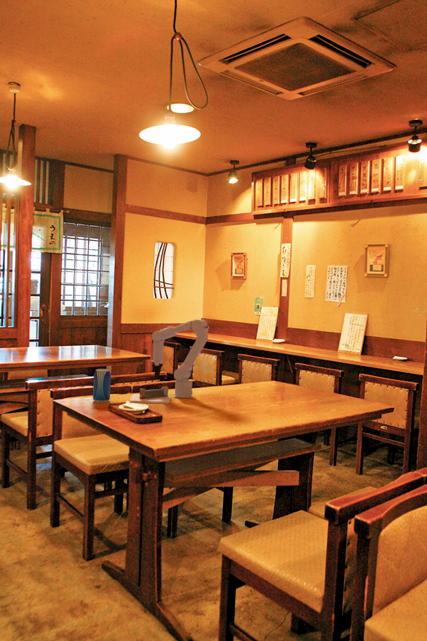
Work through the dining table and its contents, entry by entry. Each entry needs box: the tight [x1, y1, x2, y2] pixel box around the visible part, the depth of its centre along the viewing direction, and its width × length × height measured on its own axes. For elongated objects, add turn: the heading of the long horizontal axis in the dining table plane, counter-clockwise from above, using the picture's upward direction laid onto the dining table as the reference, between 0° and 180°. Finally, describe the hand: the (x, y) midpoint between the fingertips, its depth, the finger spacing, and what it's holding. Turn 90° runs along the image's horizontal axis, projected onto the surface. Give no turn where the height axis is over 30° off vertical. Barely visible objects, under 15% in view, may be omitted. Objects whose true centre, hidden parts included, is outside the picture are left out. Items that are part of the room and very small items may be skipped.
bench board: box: [129, 393, 171, 405], centre depth 263 cm, size 20×18×1 cm
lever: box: [139, 385, 169, 399], centre depth 264 cm, size 17×4×5 cm, turn 130°
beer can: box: [92, 368, 112, 404], centre depth 252 cm, size 8×8×16 cm
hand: (157, 376), depth 279 cm, fingers closed
